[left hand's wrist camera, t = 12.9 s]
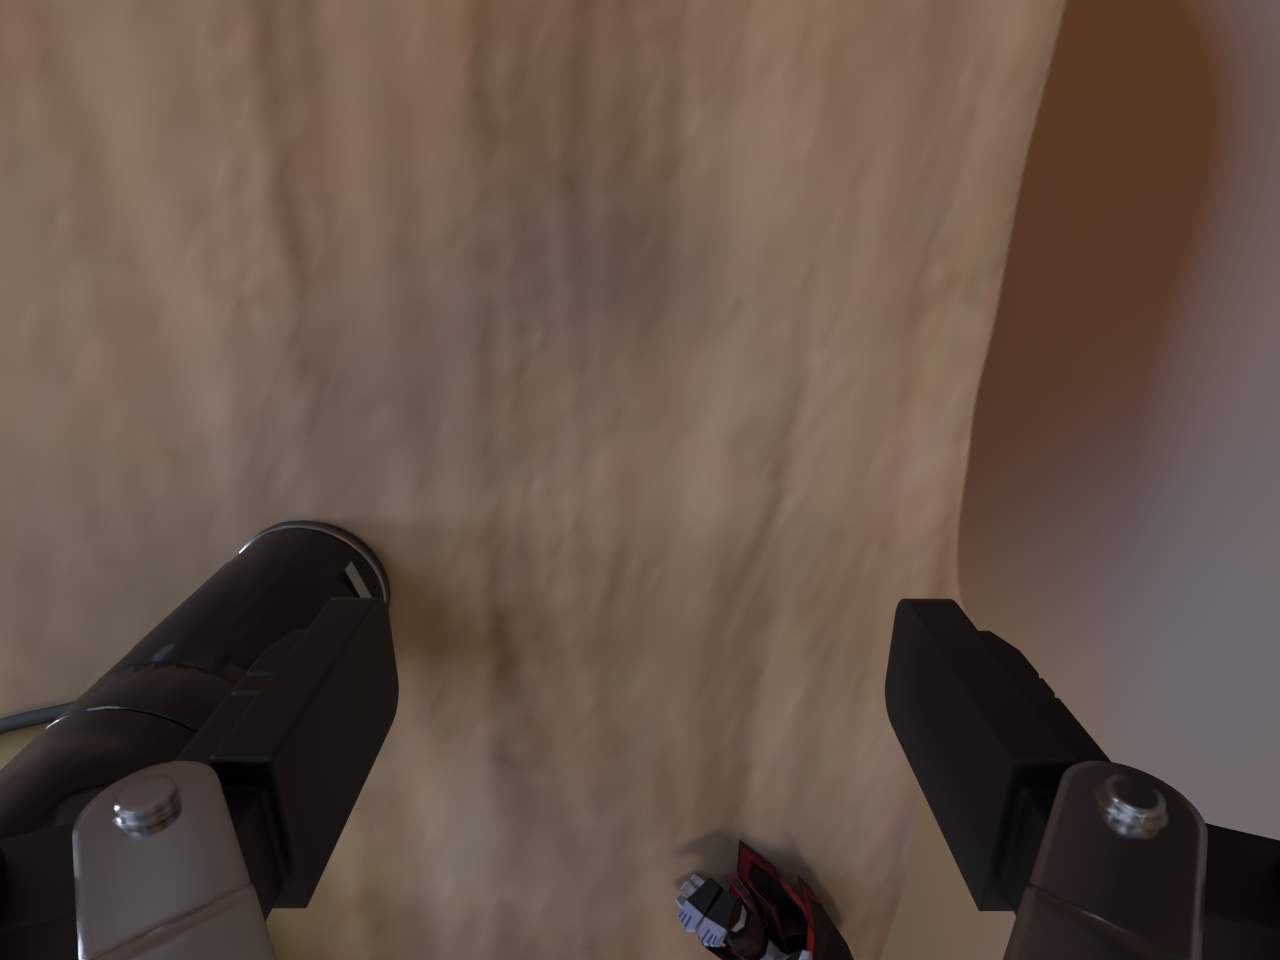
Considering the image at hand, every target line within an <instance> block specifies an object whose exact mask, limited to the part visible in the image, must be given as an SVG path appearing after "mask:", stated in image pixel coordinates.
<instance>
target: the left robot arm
mask: <svg viewBox="0 0 1280 960" xmlns="http://www.w3.org/2000/svg"><path fill="white" fill-rule="evenodd" d="M389 600H390V595H389V586H388V582H387V579H386V576H385V573H384V571H383V569H382V567H381V565H380V564H379V562H378V561H377V559H376V558H375V556H374V555H373V554H372V553H371V552H370V551H369V550H368V548H367V547H365V546H364V545H363V544H362V543H361V542H360V541H358V540H357V539H356V538H354V537H353V536H351V535H350V534H348V533H346V532H344V531H342V530H340V529H338V528H335V527H333V526H330V525H327V524H323V523H319V522H312V521H290V522H284V523H280V524H277V525H274V526H271V527H269V528H267V529H265V530H264V531H262V532H260V533H259V534H258V535H256V536H255V537H254V538H253V539H252V540H251V541H250V542H248V543H247V544H246V545H245V546H244V548H243V549H242V550H241V551H240V553H239V554H238V555H237V556H236V557H235V558H233V559H232V560H231V561H230V562H228V563H226V564H225V565H224V566H223V567H222V568H221V569H220V570H218V571H217V572H216V573H215V574H214V575H213V576H212V577H211V578H210V579H208V580H207V581H206V582H205V583H204V584H203V585H202V586H201V587H200V588H199V589H197V590H196V591H195V592H194V593H193V594H192V595H191V596H190V597H189V598H187V599H186V600H185V601H184V602H183V603H182V604H181V605H180V606H179V607H177V608H176V609H175V610H174V611H173V612H172V613H171V614H170V615H169V616H167V617H166V618H165V619H164V620H163V621H162V622H161V623H160V624H159V625H157V626H156V627H155V628H154V629H153V630H152V631H151V632H150V633H149V634H147V635H146V636H145V637H144V638H143V639H142V640H141V641H140V642H139V643H137V644H136V645H135V646H134V647H133V649H132V650H131V651H130V652H129V653H128V654H127V655H126V656H124V657H123V658H122V659H121V660H120V661H119V662H118V663H117V664H116V665H115V666H113V667H112V668H111V669H110V670H109V671H108V672H107V673H106V674H105V675H103V676H102V677H101V678H100V679H99V680H98V681H97V682H96V683H95V684H94V685H93V686H92V687H91V688H90V689H88V690H87V691H86V692H85V693H84V694H83V695H82V696H81V697H80V698H79V699H77V700H76V701H74V702H70V703H66V704H62V705H58V706H53V707H48V708H44V709H39V710H34V711H30V712H25V713H21V714H17V715H13V716H10V717H6V718H3V719H0V734H3V733H6V732H10V731H13V730H17V729H21V728H25V727H29V726H34V725H39V724H43V723H48V722H52V723H51V724H50V725H49V726H48V727H46V729H44V730H43V731H42V732H41V733H40V734H39V735H38V736H37V737H35V738H34V739H33V740H32V741H31V742H30V743H29V744H28V745H27V746H26V747H25V748H24V749H23V750H22V751H20V752H19V753H18V754H17V755H16V756H15V757H14V758H13V759H12V760H11V761H10V762H9V763H8V764H7V765H6V766H5V767H4V768H3V769H2V770H1V771H0V960H277V958H276V955H275V952H274V948H273V945H272V942H271V939H270V936H269V932H268V929H267V926H266V923H265V921H266V919H267V917H268V915H269V913H270V911H271V910H272V908H307V906H308V904H309V902H310V899H311V897H312V895H313V893H314V891H315V889H316V886H317V884H318V882H319V880H320V878H321V876H322V874H323V871H324V869H325V867H326V865H327V863H328V861H329V859H330V856H331V854H332V852H333V850H334V848H335V846H336V843H337V841H338V839H339V837H340V835H341V833H342V831H343V828H344V826H345V824H346V822H347V820H348V818H349V816H350V813H351V811H352V809H353V807H354V805H355V803H356V800H357V798H358V796H359V794H360V792H361V790H362V788H363V785H364V783H365V781H366V779H367V777H368V775H369V773H370V770H371V768H372V766H373V764H374V762H375V760H376V757H377V755H378V753H379V751H380V749H381V747H382V745H383V742H384V740H385V738H386V736H387V734H388V732H389V730H390V727H391V725H392V723H393V720H394V717H395V714H396V710H397V704H398V694H399V684H398V675H397V668H396V661H395V654H394V647H393V640H392V633H391V626H390V619H389V613H388V608H389ZM885 700H886V707H887V713H888V717H889V720H890V723H891V725H892V727H893V729H894V731H895V734H896V736H897V738H898V740H899V742H900V744H901V746H902V748H903V751H904V753H905V755H906V757H907V759H908V761H909V763H910V765H911V768H912V770H913V772H914V774H915V776H916V778H917V780H918V782H919V785H920V787H921V789H922V791H923V793H924V795H925V797H926V799H927V802H928V804H929V806H930V808H931V810H932V812H933V814H934V816H935V818H936V821H937V823H938V825H939V827H940V829H941V831H942V833H943V835H944V838H945V840H946V842H947V844H948V846H949V848H950V850H951V853H952V855H953V857H954V859H955V861H956V863H957V865H958V867H959V869H960V872H961V874H962V876H963V878H964V880H965V882H966V884H967V887H968V889H969V891H970V893H971V895H972V897H973V899H974V901H975V904H976V906H977V908H978V910H979V911H1014V913H1015V915H1016V920H1015V923H1014V926H1013V929H1012V932H1011V936H1010V939H1009V942H1008V945H1007V948H1006V952H1005V955H1004V958H1003V960H1280V841H1279V840H1274V839H1270V838H1266V837H1262V836H1257V835H1253V834H1249V833H1244V832H1240V831H1236V830H1231V829H1227V828H1223V827H1218V826H1214V825H1211V824H1207V823H1205V822H1204V820H1203V818H1202V816H1201V815H1200V813H1199V812H1198V810H1197V809H1196V808H1195V807H1194V806H1193V805H1192V803H1191V802H1190V801H1188V800H1187V799H1186V798H1185V797H1184V796H1183V795H1182V794H1180V793H1179V792H1178V791H1177V790H1175V789H1174V788H1173V787H1171V786H1169V785H1168V784H1166V783H1165V782H1163V781H1162V780H1160V779H1158V778H1156V777H1154V776H1152V775H1150V774H1148V773H1145V772H1143V771H1141V770H1138V769H1135V768H1132V767H1129V766H1126V765H1122V764H1118V763H1113V762H1111V761H1110V760H1109V758H1108V757H1107V756H1106V755H1105V753H1104V752H1103V751H1102V750H1101V749H1100V747H1099V746H1098V745H1097V744H1096V743H1095V741H1094V740H1093V739H1092V738H1091V737H1090V735H1089V734H1088V733H1087V732H1086V731H1085V729H1084V728H1083V727H1082V726H1081V724H1080V723H1079V722H1078V721H1077V720H1076V718H1075V717H1074V716H1073V715H1072V714H1071V712H1070V711H1069V710H1068V709H1067V707H1066V706H1065V705H1064V704H1063V703H1062V701H1061V700H1060V699H1059V698H1055V696H1054V692H1053V691H1052V689H1051V688H1050V687H1049V686H1048V684H1047V683H1046V682H1045V681H1044V680H1043V678H1039V674H1038V672H1037V671H1036V670H1035V669H1034V668H1033V666H1032V665H1031V664H1030V663H1029V661H1028V660H1027V659H1026V658H1025V657H1024V655H1023V654H1022V653H1021V652H1020V651H1019V650H1018V649H1016V648H1015V647H1013V646H1012V645H1010V644H1009V643H1007V642H1006V641H1004V640H1003V639H1001V638H1000V637H998V636H997V635H995V634H994V633H992V632H991V631H978V630H977V629H976V628H975V626H974V625H973V624H972V622H971V621H970V620H969V618H968V617H967V616H966V615H965V613H964V612H963V611H962V609H961V608H960V607H959V605H958V604H957V603H956V602H955V601H954V600H952V599H902V600H901V601H900V602H899V603H898V606H897V609H896V613H895V619H894V626H893V633H892V640H891V647H890V654H889V660H888V667H887V674H886V681H885Z"/></svg>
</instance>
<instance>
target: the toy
mask: <svg viewBox="0 0 1280 960" xmlns="http://www.w3.org/2000/svg"><path fill="white" fill-rule="evenodd" d="M727 875H728V876H726V878H727V879H728V880H729V882H730V883H731V884H732V885H731V887H730V889H729V891H725V890H723V888H722V887H721V886H719V885H718V884H717V883H716V882H715V881H714V880H713V879H711V878H708V879H707V880H706V879H705V878H703V877H702V876H700V875H698V874H696V873H695V874H694V875H693V876H692V878H691V880H692V881H693V882H694V883H695V884H696V885H698V886H699V888H698V889H696V888H695V887H694V886H692V885H691V884H690V883H688V882H687V881H686V882H685V884H684V885H683V886H682V887H681V890H682V891H683V892H685V893H686V894H687V895H688V896H689V898H688V899H687V898H685V897H684V896H682V895H681V894H680V893H679V894H678V896H677V897H676V899H675V901H676V903H677V904H678V906H679V907H680V908H681V910H680V911H679V912H678V917H679V918H680V920H681V922H682V924H683V926H684V928H685V931H686V932H697V931H698V929H699V935H700V937H699V936H698V937H699V938H700V940H701V943H702V945H704V946H705V947H706V948H707V949H708V950H710V951H711V952H712V953H714V955H717V957H718V958H720V959H721V960H854V959H853V957H852V955H851V952H850V950H849V947H848V945H847V943H846V941H845V940H844V939H843V937H842V936H841V934H840V933H839V931H838V930H837V928H836V927H835V925H834V924H833V922H832V921H831V919H830V918H829V916H828V915H827V913H826V912H825V910H824V909H823V907H822V905H821V904H820V902H819V901H818V899H817V898H816V896H815V895H814V893H813V892H812V890H811V889H810V887H809V886H808V885H807V884H806V883H805V882H804V881H803V880H802V878H801V877H800V876H799V875H798V878H799V883H800V887H801V891H802V895H803V899H804V903H803V902H802V900H801V899H800V898H799V897H798V896H797V894H796V893H795V892H794V891H793V889H792V888H791V887H790V886H789V884H788V883H787V882H786V881H785V879H784V878H783V877H782V876H781V874H780V873H779V872H778V871H777V869H776V868H775V867H774V866H773V865H772V864H770V863H769V862H768V861H766V860H765V859H764V858H762V857H761V856H760V855H759V854H757V853H756V852H755V851H753V850H752V849H751V848H749V847H748V846H747V845H745V844H744V843H743V842H742V841H739V854H738V867H737V872H735V873H731V874H727ZM722 943H724V944H725V945H726V946H724V947H722V946H721V945H722Z"/></svg>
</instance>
